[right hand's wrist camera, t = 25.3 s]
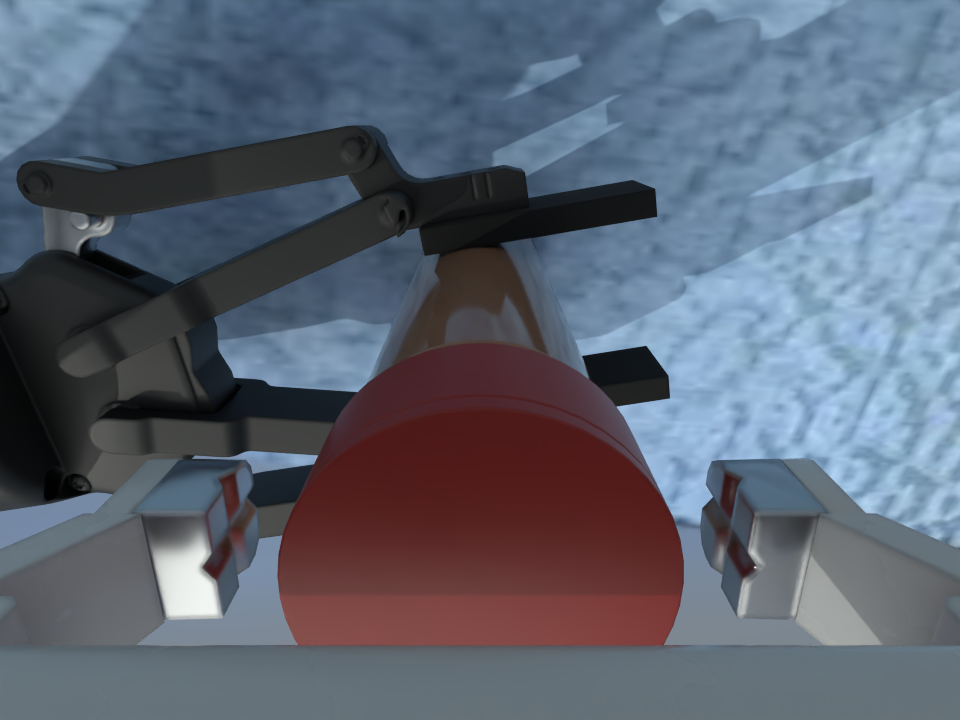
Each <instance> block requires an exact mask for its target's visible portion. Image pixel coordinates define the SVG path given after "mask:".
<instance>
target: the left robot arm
mask: <svg viewBox="0 0 960 720" xmlns="http://www.w3.org/2000/svg"><path fill="white" fill-rule="evenodd" d="M343 175H348V176H349V178H350V179H351V181H352V183H353V184H354V186H355V187H356V189H357V191H358V192H359V194H360V196H361V197H362V199H360V200H358V201H356V202H353V203H351V204H349V205H347V206H345V207H343V208H340V209H338V210H336V211H334V212H332V213H330V214H327V215H325V216H323V217H321V218H319V219H317V220H315V221H312V222H310V223H308V224H306V225H304V226H302V227H299V228H297V229H295V230H293V231H291V232H289V233H286V234H284V235H282V236H280V237H278V238H276V239H273V240H271V241H269V242H267V243H265V244H263V245H260V246H258V247H256V248H254V249H252V250H250V251H247V252H245V253H243V254H241V255H239V256H237V257H235V258H232V259H230V260H228V261H226V262H224V263H221V264H218V265H216V266H214V267H212V268H210V269H207V270H205V271H203V272H201V273H199V274H197V275H195V276H192V277H190V278H188V279H186V280H184V281H182V282H179V283H177V284H174V283H172V282H169V281H167V280H165V279H163V278H160V277H158V276H156V275H154V274H151V273H149V272H147V271H145V270H142V269H140V268H138V267H136V266H133V265H131V264H129V263H127V262H124V261H122V260H120V259H118V258H115V257H113V256H111V255H109V254H106V253H104V252H102V251H100V250H97V249H96V245H97V242H98V240H99V238H100V237H101V236H106V235H109V234H112V233H115V232H119V231H121V230H123V229H125V228H126V227H127V226H128V224H129V222H130V219H131V215H132V214H137V213H142V212H147V211H153V210H158V209H164V208H169V207H175V206H180V205H185V204H191V203H196V202H202V201H207V200H213V199H218V198H224V197H229V196H234V195H240V194H245V193H251V192H256V191H262V190H267V189H273V188H278V187H283V186H289V185H294V184H300V183H305V182H311V181H316V180H322V179H327V178H332V177H338V176H343ZM17 184H18V187H19V190H20V191H21V193H22V194H23V196H24V197H25V198H26V199H28V200H29V201H30V202H31V203H33V204H36V205H39V206H42V215H43V230H44V246H45V251H43V252H40V253H37V254H35V255H34V256H32V257H30V258H29V259H28V260H27V261H26V262H25V263H24V264H23V265H22V266H21V267H20V268H19V269H18V270H16V271H15V272H9V273H4V274H0V511H6V510H12V509H19V508H25V507H32V506H38V505H45V504H51V503H55V502H59V501H63V500H67V499H71V498H74V497H78V496H81V495H85V494H89V493H95V492H99V493H108V494H114V493H115V492H116V491H117V490H118V489H119V488H120V487H121V486H122V485H123V484H124V483H125V482H126V481H127V480H128V479H129V478H130V477H131V476H132V475H133V474H134V473H135V472H136V471H137V470H138V469H139V468H140V467H141V466H142V465H143V464H144V463H145V462H146V461H147V460H150V459H167V458H182V459H192V458H193V457H194V456H195V455H198V456H213V457H232V456H236V455H238V454H241V453H243V452H246V451H262V452H277V453H292V454H307V455H319V453H320V451H321V449H322V447H323V445H324V443H325V441H326V439H327V437H328V435H329V432H330V430H331V428H332V427H333V425H334V423H335V422H336V420H337V418H338V416H339V415H340V413H341V411H342V410H343V409H344V408H345V406H346V405H347V404H348V403H349V401H350V400H351V399H352V398H353V396H354V395H355V394H356V393H357V392H347V391H332V390H318V389H303V388H289V387H274V386H270V385H268V384H267V383H266V382H265V381H263V380H257V379H243V378H234V377H233V374H232V371H231V369H230V368H229V366H228V365H227V363H226V362H225V360H224V358H223V357H222V355H221V354H220V352H219V350H218V337H217V326H216V323H215V320H214V317H215V316H217V315H220V314H222V313H224V312H226V311H229V310H231V309H233V308H235V307H237V306H240V305H242V304H244V303H246V302H249V301H251V300H253V299H255V298H257V297H260V296H262V295H264V294H266V293H269V292H271V291H273V290H275V289H277V288H280V287H282V286H284V285H286V284H289V283H291V282H293V281H295V280H298V279H300V278H302V277H304V276H306V275H309V274H311V273H313V272H315V271H318V270H320V269H322V268H324V267H326V266H329V265H331V264H333V263H335V262H338V261H340V260H342V259H344V258H346V257H349V256H351V255H353V254H355V253H358V252H360V251H362V250H364V249H367V248H369V247H371V246H373V245H375V244H378V243H380V242H382V241H384V240H387V239H389V238H391V237H393V236H395V235H397V236H398V237H399V236H401V235H402V234H404V233H405V232H406V230H409V229H415V228H420V229H419V231H420V236H421V241H422V246H423V251H424V256H429V255H435V254H441V253H447V252H453V251H458V250H464V249H470V248H476V247H482V246H488V245H494V244H500V243H505V242H511V241H517V240H523V239H529V238H535V237H541V236H547V235H552V234H558V233H564V232H570V231H576V230H582V229H588V228H594V227H599V226H605V225H611V224H617V223H623V222H629V221H635V220H641V219H646V218H652V217H657V207H656V193H655V189H654V188H652V187H649V186H647V185H644V184H641V183H639V182H636V181H634V180H631V181H625V182H619V183H613V184H608V185H602V186H596V187H590V188H585V189H579V190H573V191H567V192H562V193H556V194H550V195H544V196H539V197H533V198H528V192H527V185H526V178H525V172H524V171H523V170H522V169H520V168H515V167H511V166H507V165H501V166H495V167H490V168H485V169H478V170H473V171H467V172H462V173H456V174H450V175H445V176H439V177H433V178H428V179H420V178H415V177H413V176H411V175H409V174H407V173H406V172H405V171H404V170H403V169H402V168H401V166H400V165H399V163H398V162H397V160H396V158H395V157H394V155H393V153H392V151H391V150H390V148H389V146H388V142H387V140H386V138H385V135H384V134H383V133H382V132H381V131H380V130H379V129H378V128H375V127H373V126H366V125H357V126H345V127H340V128H335V129H329V130H324V131H319V132H314V133H308V134H303V135H298V136H292V137H287V138H282V139H276V140H271V141H266V142H261V143H255V144H250V145H245V146H239V147H234V148H229V149H223V150H218V151H213V152H207V153H202V154H197V155H192V156H186V157H181V158H176V159H170V160H165V161H160V162H154V163H149V164H144V165H134V164H128V163H123V162H117V161H111V160H106V159H100V158H95V157H73V158H59V159H49V160H39V161H29V162H27V163H25V164H23V165H22V166H21V167H20V169H19V170H18V172H17ZM582 358H583V360H584V362H585V365H586V367H587V369H588V372H589V374H590V376H591V379H592V381H593V383H594V384H596V385H597V386H598V387H599V388H600V389H601V390H602V391H603V392H604V393H605V394H606V395H607V396H608V397H609V398H610V399H611V401H612V402H613V403H614V405H615V406H623V405H629V404H636V403H642V402H649V401H656V400H662V399H669V398H670V392H669V377H668V375H667V373H666V372H665V371H664V369H663V368H662V366H661V365H660V364H659V362H658V361H657V360H656V358H655V357H654V356H653V354H652V353H651V352H650V350H649V349H648V348H647V346H643V347H636V348H630V349H624V350H617V351H611V352H605V353H598V354H592V355H586V356H582ZM313 466H314V464H313V465H306V466H300V467H293V468H286V469H279V470H272V471H266V472H260V473H255V474H252V475H253V480H254V486H253V487H252V489H251V491H250V492H249V494H248V496H247V498H248V499H249V500H250V501H251V502H252V503H253V504H254V505H255V506H256V507H257V508H258V514H259V522H260V523H259V538H266V537H273V536H280V535H283V532H284V529H285V527H286V524H287V522H288V519H289V516H290V514H291V511H292V509H293V507H294V505H295V503H296V501H297V499H298V497H299V495H300V493H301V491H302V488H303V486H304V484H305V482H306V480H307V478H308V476H309V474H310V472H311V470H312V468H313Z"/></svg>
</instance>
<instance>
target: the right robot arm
mask: <svg viewBox="0 0 960 720" xmlns="http://www.w3.org/2000/svg"><path fill="white" fill-rule="evenodd" d="M253 486H254V480H253V475H252V469H251V466H250V464H249V463H248V462H247V461H246V460H224V459H182V458H167V459H150V460H147V461H146V462H145V463H144V464H143V465H142V466H141V467H140V468H139V469H138V470H137V471H136V472H135V473H134V474H133V475H132V476H131V477H130V478H129V479H128V480H127V481H126V482H125V483H124V484H123V485H122V486H121V487H120V488H119V489H118V490H117V491H116V492H115V493H114V494H113V495H112V496H111V497H110V498H109V499H108V500H107V501H106V502H105V503H104V504H103V505H102V506H101V507H100V508H99V509H98V510H97V511H96V512H95V513H94V514H81V515H79V516H77V517H74V518H72V519H70V520H67V521H65V522H63V523H60V524H58V525H56V526H53V527H51V528H49V529H46V530H44V531H42V532H40V533H37V534H35V535H32V536H30V537H28V538H25V539H23V540H21V541H18V542H16V543H14V544H12V545H9V546H7V547H5V548H2V549H0V720H960V549H958V548H955V547H953V546H951V545H949V544H946V543H944V542H942V541H939V540H937V539H935V538H932V537H930V536H928V535H925V534H923V533H921V532H918V531H916V530H914V529H911V528H909V527H907V526H904V525H902V524H900V523H897V522H895V521H893V520H890V519H888V518H886V517H883V516H881V515H879V514H866V513H865V512H864V511H863V510H862V509H861V508H860V507H859V506H858V505H857V504H856V503H855V502H854V501H853V500H852V499H851V498H850V497H849V496H848V495H847V494H846V493H845V492H844V491H843V490H842V489H841V488H840V487H839V486H838V485H837V484H836V483H835V482H834V481H833V480H832V479H831V478H830V477H829V476H828V475H827V474H826V473H825V472H824V471H823V470H822V469H821V468H820V467H819V466H818V465H817V464H816V463H815V462H814V461H813V460H810V459H807V458H794V459H749V460H717V461H712V462H711V465H710V467H709V469H708V474H707V480H706V486H707V487H708V489H709V491H710V492H711V494H712V496H713V498H712V499H711V500H710V501H709V502H708V503H707V504H706V505H705V506H704V507H703V508H702V516H701V525H700V529H701V541H702V546H703V549H704V553H705V556H706V558H707V560H708V562H709V564H710V566H711V567H712V568H713V569H715V570H716V571H718V572H719V573H721V574H722V575H723V577H722V583H721V588H722V590H723V592H724V593H725V595H726V597H727V599H728V601H729V603H730V605H731V607H732V609H733V611H734V612H735V614H736V616H737V618H748V619H785V620H796V623H797V624H798V625H800V626H801V627H802V628H803V629H805V630H806V631H807V632H809V633H810V634H811V635H812V636H814V637H815V638H816V639H818V640H819V641H820V642H821V643H823V644H824V645H136V644H138V643H139V642H140V641H141V640H143V639H144V638H145V637H147V636H148V635H149V634H150V633H152V632H153V631H154V630H156V629H157V628H158V627H159V626H161V625H162V624H163V623H164V620H175V619H210V618H223V616H224V615H225V613H226V611H227V609H228V607H229V605H230V603H231V601H232V599H233V597H234V596H235V594H236V592H237V590H238V588H239V583H238V576H237V575H238V574H239V573H241V572H242V571H244V570H245V569H247V568H249V567H250V565H251V563H252V560H253V558H254V556H255V554H256V550H257V545H258V540H259V523H260V522H259V514H258V508H257V507H256V506H255V505H254V504H253V503H252V502H251V501H250V500H249V499H248V498H247V496H248V494H249V492H250V491H251V489H252V487H253Z"/></svg>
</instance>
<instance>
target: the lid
mask: <svg viewBox="0 0 960 720" xmlns="http://www.w3.org/2000/svg"><path fill="white" fill-rule="evenodd" d="M278 584H279V593H280V600H281V603H282V607H283V611H284V614H285V618H286V621H287V623H288V625H289V627H290V630H291V632H292V634H293V636H294V639H295V640H296V642H297V644H298V645H664V643H665V641H666V639H667V637H668V635H669V633H670V631H671V629H672V627H673V625H674V622H675V619H676V616H677V613H678V610H679V607H680V602H681V596H682V590H683V584H684V560H683V553H682V547H681V541H680V537H679V534H678V531H677V528H676V525H675V522H674V519H673V516H672V514H671V512H670V510H669V508H668V506H667V504H666V502H665V500H664V498H663V496H662V494H661V492H660V490H659V488H658V486H657V484H656V481H655V479H654V477H653V475H652V473H651V471H650V469H649V467H648V465H647V463H646V461H645V459H644V457H643V455H642V453H641V451H640V449H639V447H638V444H637V442H636V440H635V438H634V436H633V434H632V432H631V430H630V428H629V427H628V425H627V423H626V421H625V419H624V417H623V416H622V414H621V413H620V411H619V410H618V409H617V407H616V406H615V405H614V403H613V402H612V401H611V399H610V398H609V397H608V396H607V395H606V394H605V393H604V392H603V391H602V390H601V389H600V388H599V387H598V386H597V385H596V384H594V383H593V382H592V381H590V380H589V379H588V378H587V377H585V376H584V375H583V374H581V373H580V372H578V371H577V370H575V369H573V368H571V367H570V366H568V365H566V364H565V363H563V362H561V361H559V360H556V359H554V358H551V357H549V356H547V355H544V354H542V353H539V352H535V351H531V350H528V349H524V348H520V347H515V346H508V345H501V344H484V343H471V344H461V345H452V346H446V347H442V348H438V349H433V350H429V351H426V352H423V353H420V354H418V355H415V356H412V357H410V358H407V359H405V360H403V361H401V362H399V363H397V364H395V365H393V366H392V367H390V368H388V369H386V370H385V371H383V372H382V373H380V374H379V375H378V376H376V377H375V378H373V379H372V380H371V381H369V382H368V383H367V384H366V385H365V386H364V387H363V388H362V389H361V390H360V391H359V392H357V393H356V394H355V395H354V396H353V398H352V399H351V400H350V401H349V403H348V404H347V405H346V406H345V408H344V409H343V410H342V411H341V413H340V415H339V416H338V418H337V420H336V422H335V423H334V425H333V427H332V428H331V430H330V432H329V435H328V437H327V439H326V441H325V443H324V445H323V447H322V449H321V451H320V453H319V455H318V457H317V459H316V461H315V464H314V466H313V468H312V470H311V472H310V474H309V476H308V478H307V480H306V482H305V484H304V486H303V488H302V491H301V493H300V495H299V497H298V499H297V501H296V503H295V505H294V507H293V509H292V511H291V514H290V516H289V519H288V522H287V524H286V527H285V529H284V532H283V536H282V541H281V545H280V550H279V557H278Z"/></svg>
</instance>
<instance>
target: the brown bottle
mask: <svg viewBox="0 0 960 720" xmlns="http://www.w3.org/2000/svg"><path fill="white" fill-rule="evenodd" d="M471 343H484V344H501V345H508V346H515V347H520V348H524V349H528V350H531V351H535V352H539V353H542V354H544V355H547V356H549V357H551V358H554V359H556V360H559V361H561V362H563V363H565V364H566V365H568V366H570V367H571V368H573V369H575V370H577V371H578V372H580V373H581V374H583V375H584V376H585V377H587V378H588V379H589V380H590V381H592V379H591V376H590V374H589V372H588V369H587V367H586V365H585V362H584V360H583V358H582V355H581V353H580V351H579V348H578V346H577V344H576V342H575V339H574V337H573V335H572V332H571V330H570V328H569V325H568V323H567V321H566V318H565V316H564V314H563V311H562V309H561V307H560V305H559V302H558V300H557V298H556V295H555V293H554V291H553V288H552V286H551V284H550V281H549V279H548V277H547V274H546V272H545V270H544V268H543V265H542V263H541V261H540V258H539V256H538V254H537V251H536V249H535V247H534V244H533V242H532V240H531V239H530V238H529V239H523V240H517V241H511V242H505V243H500V244H494V245H488V246H482V247H476V248H470V249H464V250H458V251H453V252H447V253H441V254H435V255H429V256H424V252H423V254H422V257H421V259H420V261H419V264H418V266H417V268H416V271H415V273H414V275H413V278H412V280H411V282H410V285H409V287H408V289H407V292H406V294H405V296H404V299H403V301H402V303H401V306H400V308H399V310H398V313H397V315H396V317H395V320H394V322H393V324H392V327H391V329H390V331H389V334H388V336H387V338H386V341H385V343H384V345H383V348H382V350H381V352H380V355H379V357H378V359H377V362H376V364H375V366H374V369H373V371H372V373H371V376H370V378H369V380H368V382H369V381H371V380H372V379H373V378H375V377H376V376H378V375H379V374H380V373H382V372H383V371H385V370H386V369H388V368H390V367H392V366H393V365H395V364H397V363H399V362H401V361H403V360H405V359H407V358H410V357H412V356H415V355H418V354H420V353H423V352H426V351H429V350H433V349H438V348H442V347H446V346H452V345H461V344H471ZM592 382H593V381H592Z"/></svg>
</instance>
